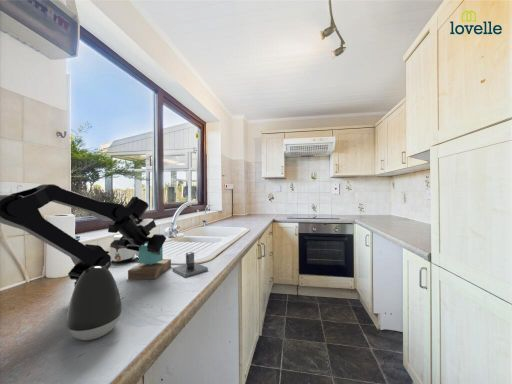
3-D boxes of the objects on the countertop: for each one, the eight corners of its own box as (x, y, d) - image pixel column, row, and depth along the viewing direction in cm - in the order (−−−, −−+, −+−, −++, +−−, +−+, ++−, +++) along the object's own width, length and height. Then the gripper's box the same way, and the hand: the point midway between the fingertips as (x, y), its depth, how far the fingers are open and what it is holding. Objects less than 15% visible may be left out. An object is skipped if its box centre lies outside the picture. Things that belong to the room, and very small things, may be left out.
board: (154, 279, 83) (154, 270, 83) (128, 278, 83) (127, 270, 83) (170, 266, 97) (170, 259, 97) (148, 265, 97) (147, 258, 97)
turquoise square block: (151, 264, 86) (151, 246, 86) (138, 262, 88) (138, 244, 88) (162, 260, 92) (162, 242, 92) (150, 258, 94) (150, 241, 94)
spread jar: (106, 262, 102) (106, 236, 102) (127, 255, 113) (127, 232, 113) (127, 265, 99) (127, 238, 99) (147, 257, 110) (147, 233, 110)
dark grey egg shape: (130, 319, 57) (130, 258, 57) (104, 347, 47) (104, 273, 47) (89, 319, 57) (88, 259, 57) (53, 348, 46) (52, 274, 46)
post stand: (184, 277, 84) (184, 258, 84) (172, 270, 91) (172, 253, 91) (207, 270, 91) (207, 253, 91) (194, 265, 98) (194, 248, 98)
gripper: (162, 213, 83) (182, 237, 94) (124, 211, 89) (146, 234, 100) (145, 239, 76) (168, 262, 86) (105, 235, 82) (131, 257, 92)
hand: (153, 252), depth 91 cm, fingers closed on turquoise square block, 6 cm apart
